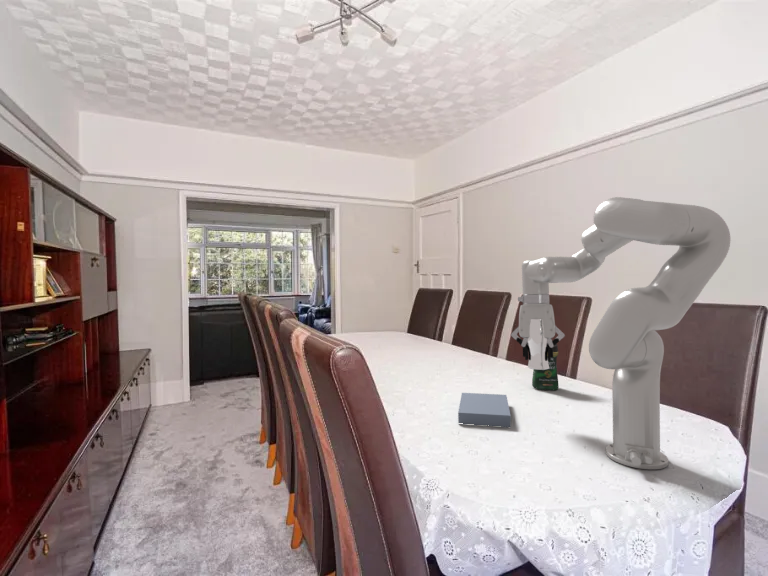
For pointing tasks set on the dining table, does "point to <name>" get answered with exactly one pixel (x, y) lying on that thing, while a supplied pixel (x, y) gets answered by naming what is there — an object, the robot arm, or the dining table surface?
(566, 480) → the dining table surface
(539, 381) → the coffee jar
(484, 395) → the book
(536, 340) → the beer glass
